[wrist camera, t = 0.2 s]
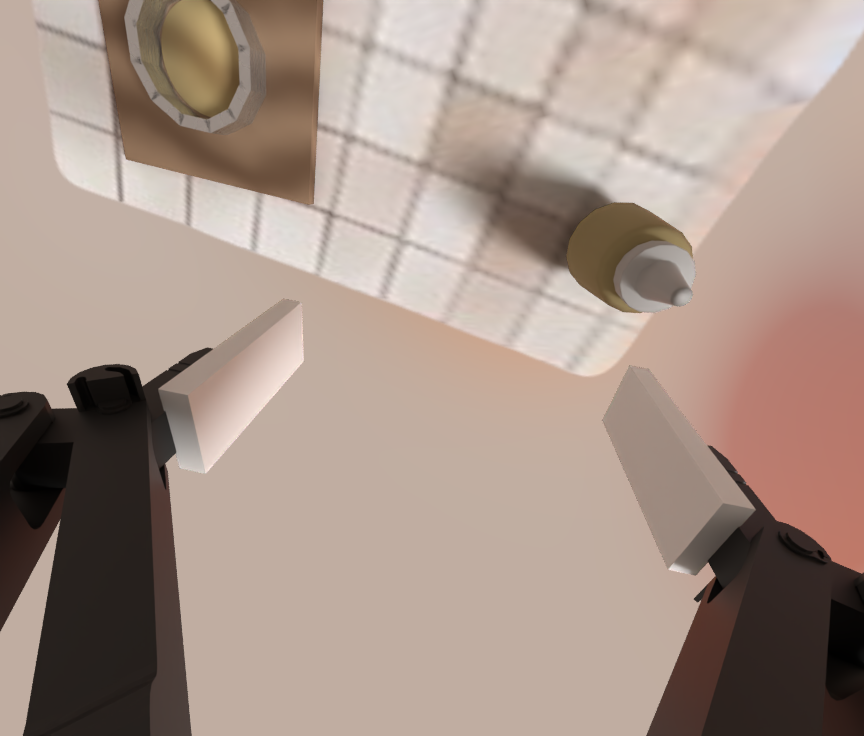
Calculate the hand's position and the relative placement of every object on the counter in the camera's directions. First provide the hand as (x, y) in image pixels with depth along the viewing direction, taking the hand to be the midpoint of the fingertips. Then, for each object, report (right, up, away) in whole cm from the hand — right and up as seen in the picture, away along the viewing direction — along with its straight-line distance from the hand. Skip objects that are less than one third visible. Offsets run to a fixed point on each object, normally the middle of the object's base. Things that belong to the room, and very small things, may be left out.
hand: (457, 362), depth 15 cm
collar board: (-21, +28, +20) cm, 41 cm away
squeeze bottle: (+16, +12, +22) cm, 30 cm away
